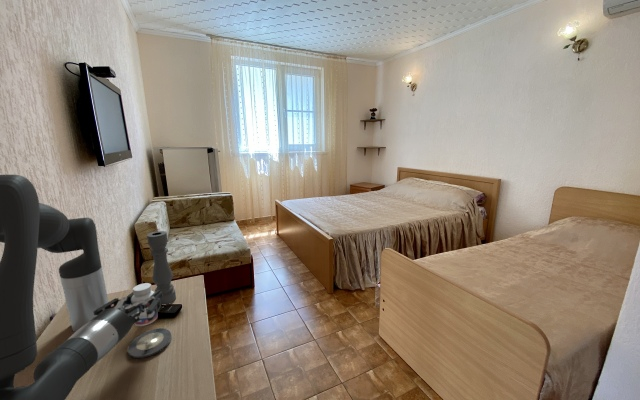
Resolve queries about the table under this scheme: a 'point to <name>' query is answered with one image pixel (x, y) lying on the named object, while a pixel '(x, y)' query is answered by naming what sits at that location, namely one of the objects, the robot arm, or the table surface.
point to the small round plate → (149, 343)
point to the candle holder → (161, 266)
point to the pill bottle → (142, 294)
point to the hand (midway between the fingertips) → (149, 292)
